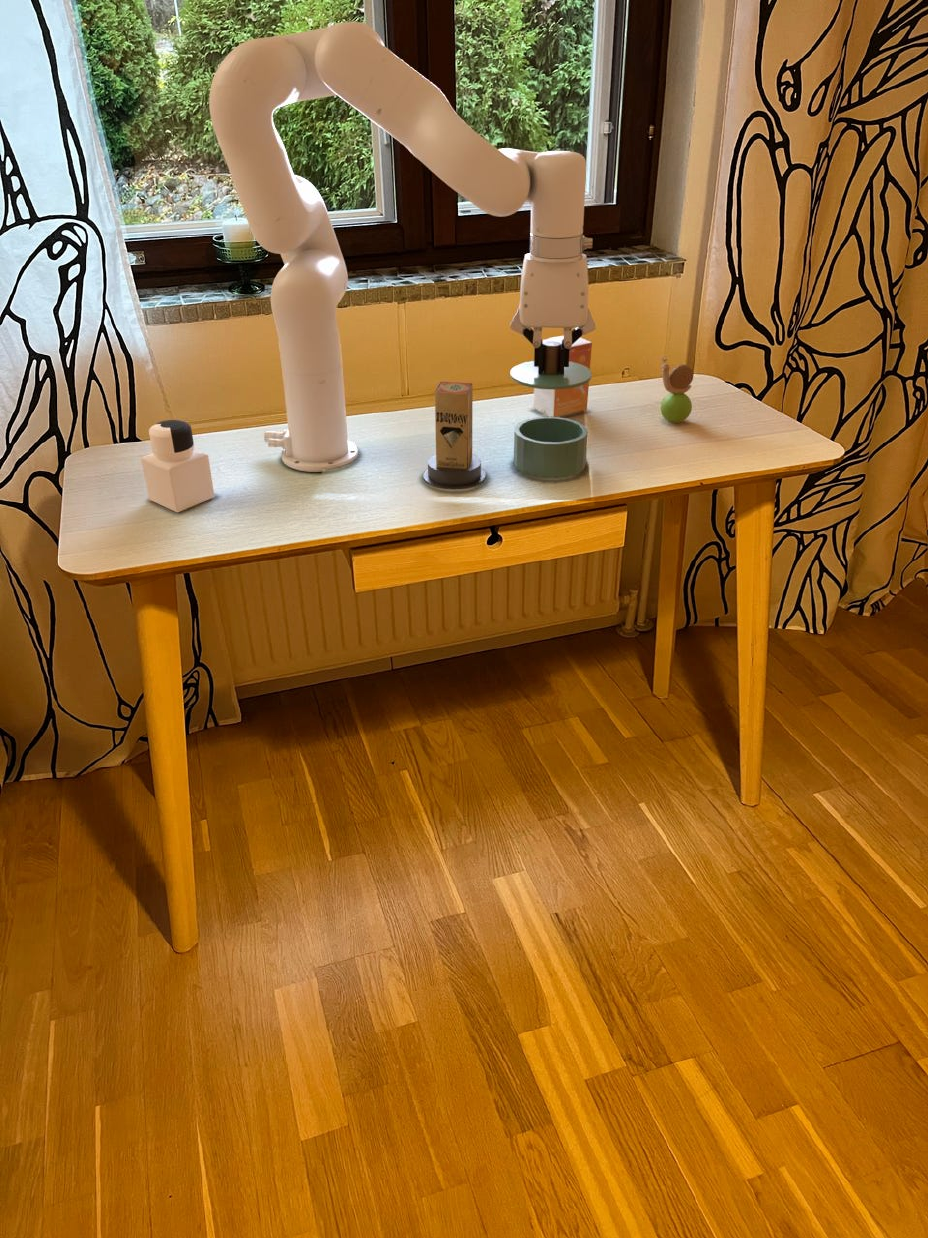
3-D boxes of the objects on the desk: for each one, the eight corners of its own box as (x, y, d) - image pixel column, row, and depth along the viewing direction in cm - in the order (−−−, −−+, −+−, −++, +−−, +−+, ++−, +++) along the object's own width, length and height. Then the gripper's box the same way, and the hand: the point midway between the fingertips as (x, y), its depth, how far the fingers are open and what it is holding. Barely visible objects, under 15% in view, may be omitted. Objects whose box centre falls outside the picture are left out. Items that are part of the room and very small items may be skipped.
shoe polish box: (441, 454, 155) (440, 381, 149) (472, 456, 154) (472, 382, 148) (436, 467, 151) (434, 392, 144) (467, 469, 150) (467, 394, 144)
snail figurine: (648, 418, 176) (655, 353, 170) (680, 414, 178) (688, 349, 171) (662, 429, 172) (670, 362, 165) (695, 425, 173) (704, 358, 167)
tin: (512, 480, 154) (513, 443, 151) (514, 451, 164) (515, 415, 160) (586, 482, 153) (588, 444, 150) (583, 453, 163) (586, 417, 160)
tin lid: (508, 392, 146) (509, 355, 143) (511, 365, 157) (512, 330, 154) (593, 393, 145) (595, 357, 142) (590, 366, 156) (592, 331, 153)
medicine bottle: (186, 484, 153) (174, 411, 146) (215, 497, 149) (204, 423, 143) (148, 500, 148) (133, 425, 142) (177, 513, 144) (163, 437, 138)
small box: (553, 421, 175) (556, 349, 168) (532, 410, 180) (534, 340, 173) (588, 411, 179) (593, 341, 172) (566, 401, 183) (570, 332, 176)
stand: (419, 491, 151) (419, 473, 149) (426, 465, 159) (426, 448, 157) (484, 493, 150) (484, 475, 148) (487, 467, 158) (487, 449, 157)
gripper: (611, 241, 143) (602, 364, 153) (500, 240, 144) (499, 362, 154) (614, 252, 137) (605, 380, 147) (498, 251, 138) (497, 378, 148)
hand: (551, 370), depth 150 cm, fingers closed on tin lid, 2 cm apart
